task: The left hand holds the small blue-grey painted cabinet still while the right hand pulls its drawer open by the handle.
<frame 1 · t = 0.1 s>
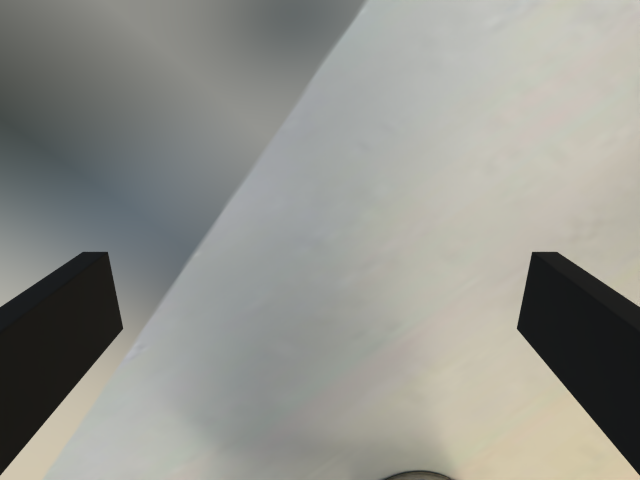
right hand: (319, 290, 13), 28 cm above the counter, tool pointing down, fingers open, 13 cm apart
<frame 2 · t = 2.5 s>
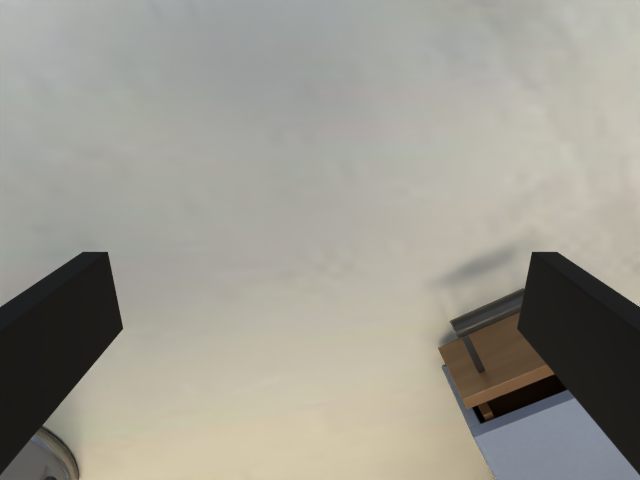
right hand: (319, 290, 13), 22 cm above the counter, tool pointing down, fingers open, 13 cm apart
drawer: (527, 400, 37), point 4 cm above the counter, slide at 1.9 cm
cabinet: (526, 412, 43), on the counter
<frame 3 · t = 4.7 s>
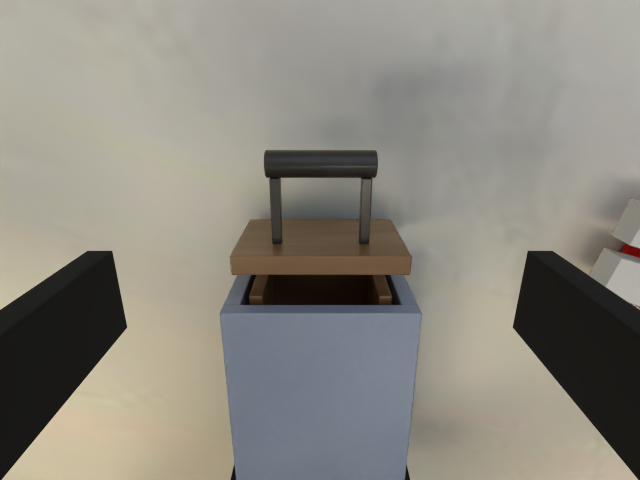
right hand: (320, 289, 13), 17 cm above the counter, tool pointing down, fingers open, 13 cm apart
drawer: (320, 322, 28), point 4 cm above the counter, slide at 1.9 cm
cabinet: (320, 359, 34), on the counter, touching left hand
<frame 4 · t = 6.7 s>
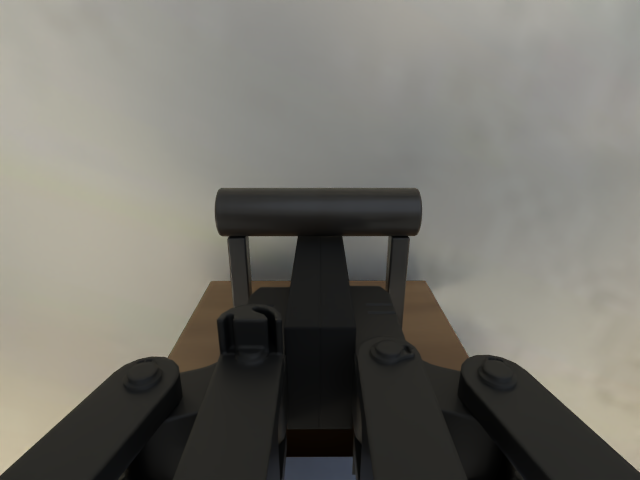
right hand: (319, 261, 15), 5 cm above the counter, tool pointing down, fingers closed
drawer: (318, 444, 18), point 4 cm above the counter, slide at 2.0 cm, touching right hand
cabinet: (318, 465, 24), on the counter, touching left hand
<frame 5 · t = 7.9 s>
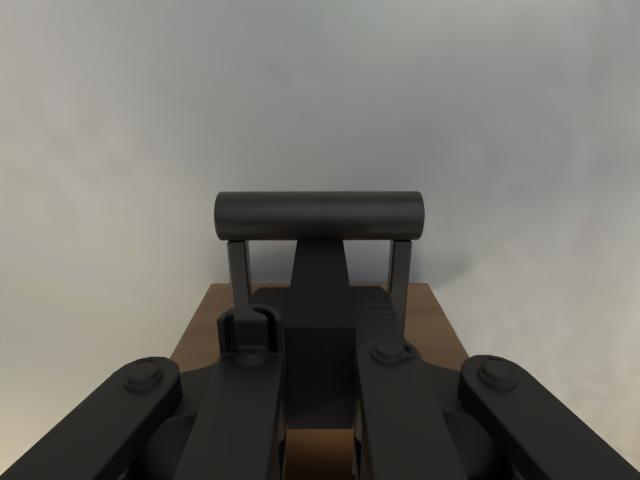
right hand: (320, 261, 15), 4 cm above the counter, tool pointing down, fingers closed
drawer: (319, 448, 18), point 4 cm above the counter, slide at 8.1 cm, touching right hand
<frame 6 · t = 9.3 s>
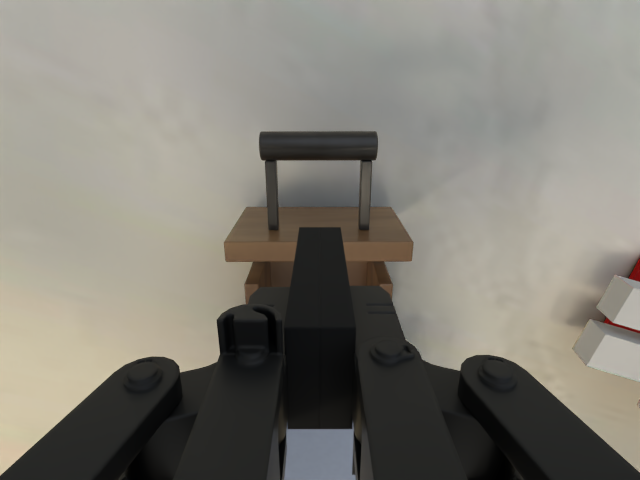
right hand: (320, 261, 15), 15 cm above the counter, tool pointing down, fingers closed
drawer: (318, 313, 27), point 5 cm above the counter, slide at 8.2 cm
cabinet: (319, 412, 36), on the counter, touching left hand
when the left hand's fingers open (4 cm above the counter, at t = 10.0 s): cabinet stays where it is, on the counter.
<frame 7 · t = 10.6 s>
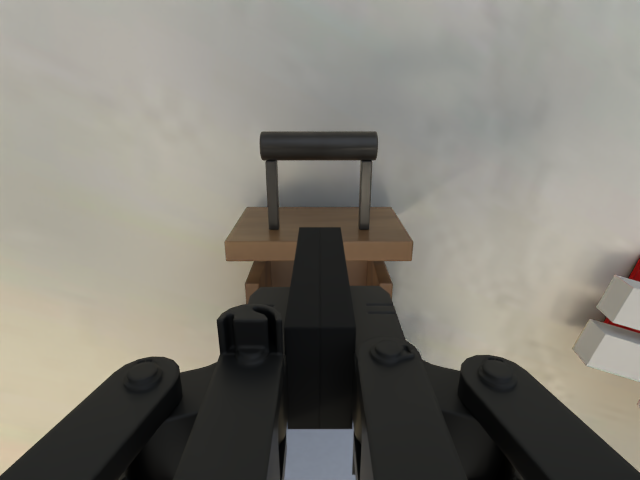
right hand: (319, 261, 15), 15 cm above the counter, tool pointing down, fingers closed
drawer: (319, 312, 27), point 4 cm above the counter, slide at 8.2 cm
cabinet: (319, 412, 36), on the counter
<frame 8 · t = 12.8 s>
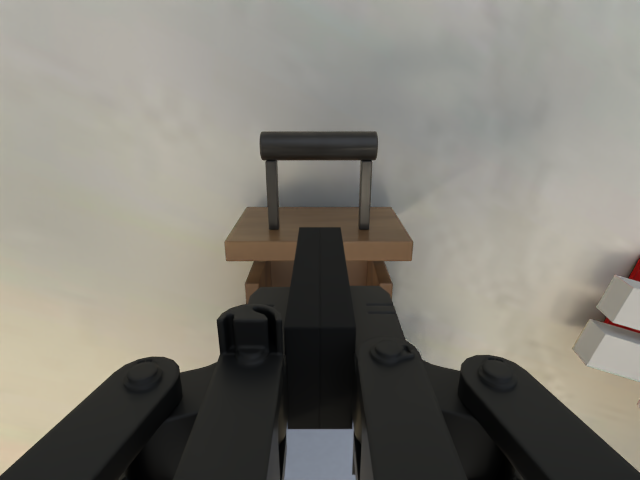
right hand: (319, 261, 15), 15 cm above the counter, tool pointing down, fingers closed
drawer: (319, 312, 27), point 4 cm above the counter, slide at 8.2 cm
cabinet: (319, 412, 36), on the counter
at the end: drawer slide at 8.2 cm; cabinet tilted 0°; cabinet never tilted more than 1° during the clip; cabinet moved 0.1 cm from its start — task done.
